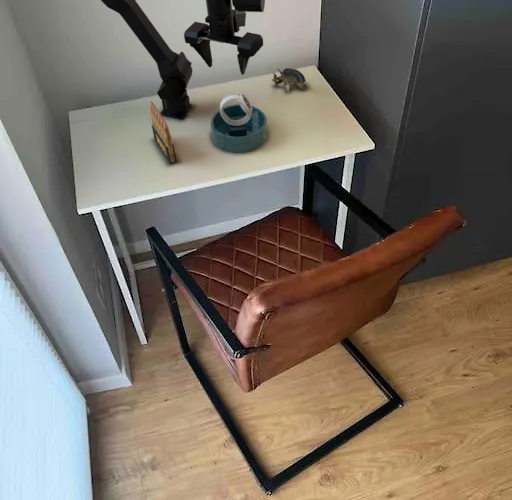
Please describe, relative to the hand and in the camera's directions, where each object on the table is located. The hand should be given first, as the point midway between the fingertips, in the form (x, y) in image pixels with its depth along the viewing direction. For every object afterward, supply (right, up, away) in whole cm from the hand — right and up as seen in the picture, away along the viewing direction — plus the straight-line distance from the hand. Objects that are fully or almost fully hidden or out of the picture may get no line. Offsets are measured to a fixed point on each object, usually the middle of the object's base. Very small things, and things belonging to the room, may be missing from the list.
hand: (226, 70), depth 143 cm
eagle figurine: (+17, 0, +17) cm, 24 cm away
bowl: (+3, -15, +4) cm, 16 cm away
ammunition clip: (-15, -20, +1) cm, 25 cm away
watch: (+3, -15, +4) cm, 16 cm away
